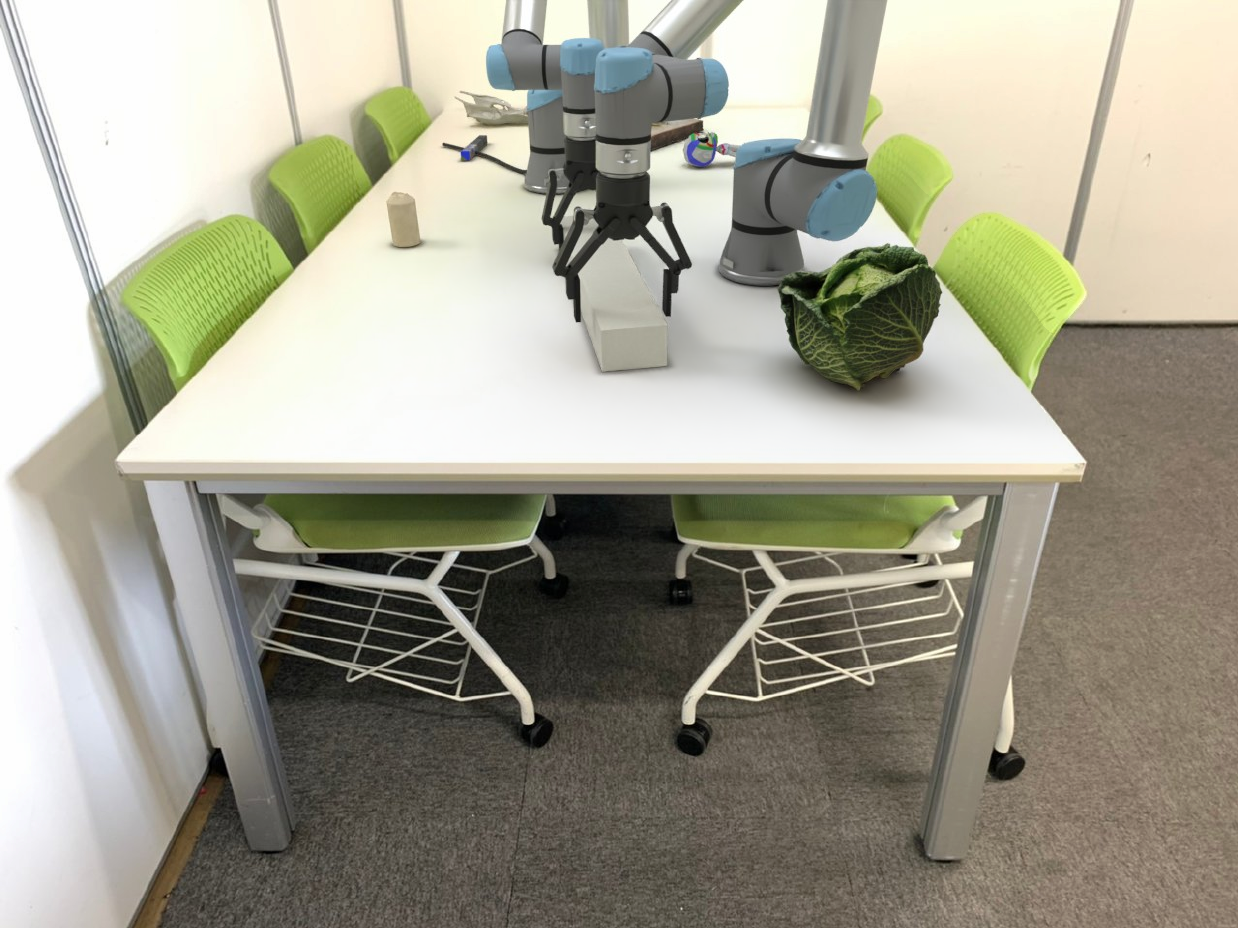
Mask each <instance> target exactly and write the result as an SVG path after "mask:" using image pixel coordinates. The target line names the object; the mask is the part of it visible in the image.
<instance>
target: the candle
mask: <svg viewBox="0 0 1238 928" xmlns="http://www.w3.org/2000/svg"><path fill="white" fill-rule="evenodd" d="M385 203H386V208H387V209H386V210H387V215H388V222H389V228H390V236H391V241H392V245H393V246H395V247H400V248H409V247H414V246H417V245H419V244H420V243H421V233H420V227H419V220H418V212H417V205H416V199H415V198H414V196H412V195H411V194H409V193H407V192H405V193H404V192H397V191H394V192H392V193H391V194H390V196H389V197H388V198H387V199H386V202H385Z"/></svg>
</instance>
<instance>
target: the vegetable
mask: <svg viewBox="0 0 1238 928" xmlns="http://www.w3.org/2000/svg"><path fill="white" fill-rule="evenodd" d="M936 275H937V272H936V270H935V268H934V267H931V266H930V265H929V261H928V257H927V256H926V254H923V253H921V252H918V251H916V250H915V247H914V246H900V245H897V244H894V245H892V246H891V243H888V242H887V243H885V244H883V245H882V246H865V247H861V248H856V249H853V250H852V251H850V252H848V253H847V254H845V255H843V256H841V257H840V258H838V260H837V261H836V262H835V263H834V264H832V266H831V267H828V268H826V269H824V270H822V271H810V270H806V271H805V270H804V271H796V272H793V273H790V274H789V275H786V276H784V277H783V278H782V280H781V281H782V283H781V284H780V285H778V288H777V293H778V296H779V299H780V309H781V310H782V312H783V313H784V314H785V316H784V323H785V326H786V329H787V330H786V332H787V334H788V341H789V344H790V345H791V347H792V349H793V350H794V351H795V352H796V354H797V355H798V357H799V358H800V359H801V361H802V362H803V363H804V364H805V365H810V366H811V367H812V368H813V369H814V371H816V372H817V373H818V374H819V375H821V376H822V377H824V378H825V379H828V380H829V381H830V382H835V383H839V384H842V385H843V384H844V385H849V386H850V387H852V388H854V389H855V390H856V391H857V392H859V391H860V390H861V388H863V387H866V386H865V383H868V382H870V381H871V380H872V379H873V378H875V377H879V378H882V379H888V378H889V377H890V375H891V374H892V373H893V372H899V371H900V370H901V369H902V368H905V366H906V365H908V364H910V363H912V362H914V361H916V360H918V359H920V357H921V355H922V354H923V353H924V343H925V340H926V338H927V336H928V335H929V333H930V331H931V329H932V327H933V325H934V321H935V319H936V318H938V316H939V313H940V309H939V308H940V307H941V306H942V305H941V303H940V301H941V297H942V294H943V290H942V288H941V284H940V283H941V282H940V281H939V280H938V279H937V277H936Z"/></svg>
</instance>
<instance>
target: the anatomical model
mask: <svg viewBox="0 0 1238 928" xmlns="http://www.w3.org/2000/svg"><path fill="white" fill-rule="evenodd" d="M459 93H460V94H464V95H468V96H471V97H472V98H473V101H474V103H472V102H468V101H465V100H463V99H461V98H460V97H458V96H456V95H454V99H455V100H457V101H459V102H461V103H462V105H463V107H464V110H465V113H466V117H467V118H472V119H475V121H476V122H478V123H482V124H484V125H488V126H494V125H495V126H496V125H502V124H503V125H504V124H507V123H520V124H521V123H523V124H528V113H527V110H526V108H527V105H526V106H525V107H523V108H522V107H514V106H512V104H511V103H509V102H508V101H506V100H504V99H502V98H499V97H497V96H492V95H487V94H478V93H474V92H473V93H472V92H468V91H465V90H459ZM494 105H495V106H494ZM497 105H498V106H500V107H502V109H501V108H498V107H496V106H497Z"/></svg>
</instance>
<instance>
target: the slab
mask: <svg viewBox="0 0 1238 928" xmlns="http://www.w3.org/2000/svg"><path fill="white" fill-rule="evenodd" d="M572 223H573V215H564V217H563V219H562V221H561V223H560V224H562V227H563V234H564V240H565V238H566V236H567V233H568V231H569V229H570V227H571V225H572ZM597 227H598V224H597V223H596V221H595V220H594V219H591V220H590V221H589V223H588V224H587V225H585V226H583V230H582V233H581V235H580V237H579V239H578V241H577V243H576V246H575V248H574V250H573V252H572V254H571V256H570V258H569V260H568V263H567V265H566V266H568V264H569V263H570V262H571V261H572V259H573V258H574V257H575V256H576V254H577V253H578V252H579V251H580V249H581V248H582V247H583V246H584V244H585V243H586V242H587V241H588V240H589V238H590V237H591V236H592V234H593V232H594V230H595V229H596V228H597ZM578 276H579V278H580V295H581V316H582V318H583V321H584V324H585V327H586V330H587V332H588V336H589V338H590V341H591V345H592V347H593V350H594V353H595V355H596V359H597V361H598V365H599V367H600V369H601V372H602V373H604V372H605V373H606V372H615V371H627V370H639V369H651V368H660V367H667V366H668V337H669V336H668V335H669V334H668V333H669V325H668V322H667V321H666V319H665V317H664V315H663V312H661V310H660V308H659V306H658V304H657V302H656V301H655V299H654V297H653V295H652V293H651V291H650V289H649V287H648V286H647V283H646V282H645V280H644V278H643V277H642V274H641V273H640V271H639V270H638V267H637V265H636V264H635V262H634V260H633V258H632V257H631V254H630V252H629V250H628V249H627V247H626V245H625V243H624V240H616V241H613V239H610V238H608V239H607V240H606V241H605V243H604V244H602V245H601V246H600V247H599V248H598V250H597V251H596V252H595V253H594V254H593V256H592V257H591V258H590V259H589V261H588V262H587V263H586V264H585V266H584V267H583V268H582V269H581V270H580V272H579V273H578Z"/></svg>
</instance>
